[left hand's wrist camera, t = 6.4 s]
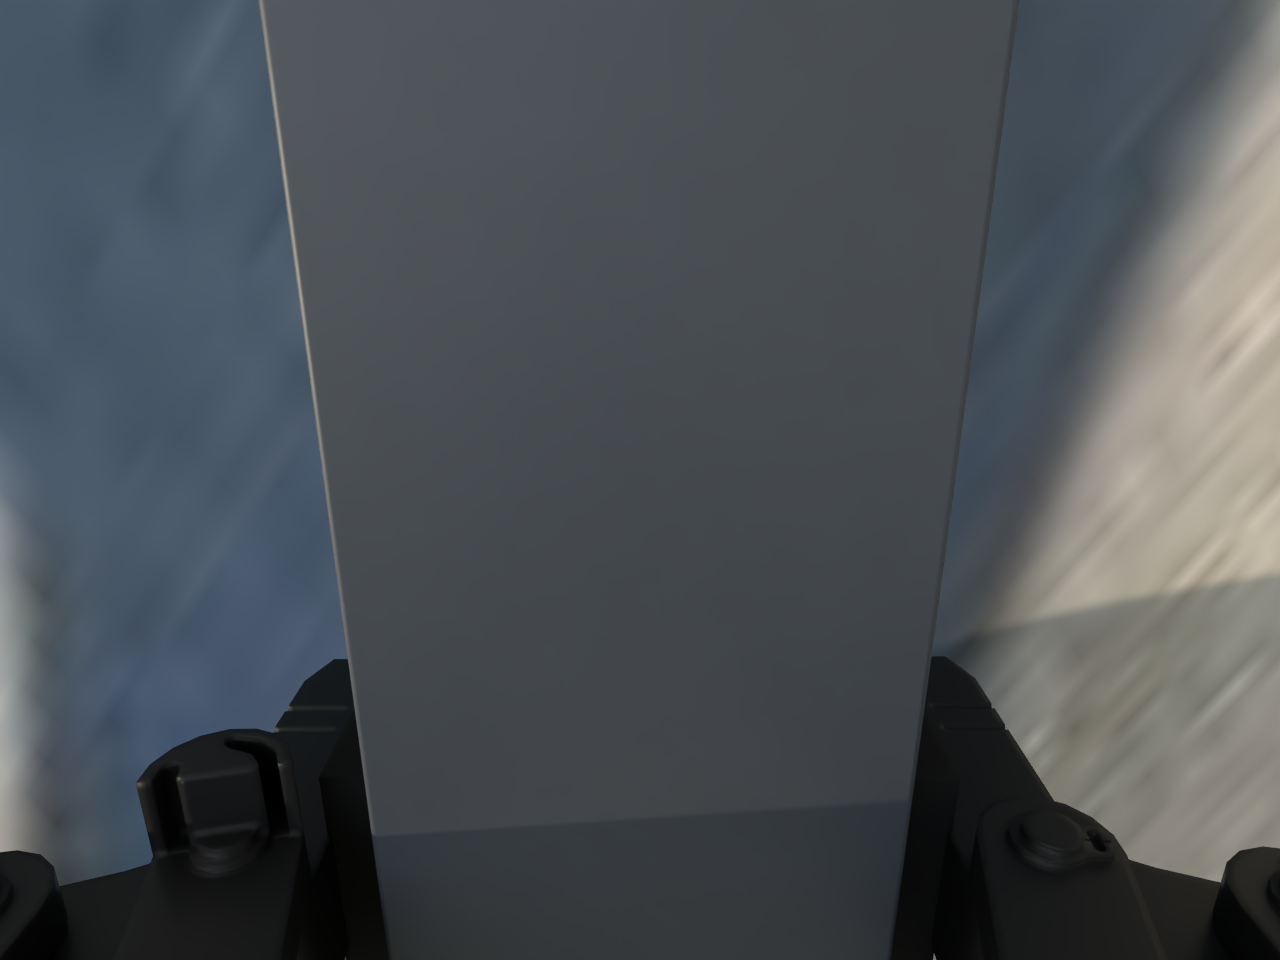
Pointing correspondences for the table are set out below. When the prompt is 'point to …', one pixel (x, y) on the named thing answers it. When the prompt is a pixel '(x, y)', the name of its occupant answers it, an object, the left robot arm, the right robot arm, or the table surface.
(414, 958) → the bar
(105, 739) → the table surface
